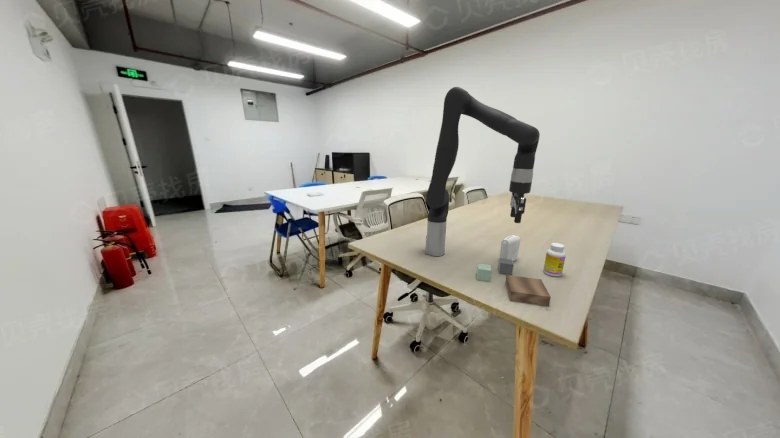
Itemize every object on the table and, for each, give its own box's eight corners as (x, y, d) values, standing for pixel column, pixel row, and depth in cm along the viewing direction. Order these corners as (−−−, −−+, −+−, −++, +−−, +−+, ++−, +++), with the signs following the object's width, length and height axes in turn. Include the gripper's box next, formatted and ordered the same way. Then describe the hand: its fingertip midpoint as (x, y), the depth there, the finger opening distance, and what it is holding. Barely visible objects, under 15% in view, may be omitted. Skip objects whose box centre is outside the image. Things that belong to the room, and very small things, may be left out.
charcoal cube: (499, 273, 105) (500, 263, 104) (497, 268, 110) (499, 258, 108) (511, 275, 104) (513, 264, 102) (510, 269, 108) (511, 259, 107)
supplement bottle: (557, 278, 101) (563, 249, 97) (540, 272, 106) (545, 244, 102) (564, 273, 104) (570, 245, 101) (547, 268, 109) (552, 240, 106)
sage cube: (477, 280, 100) (478, 268, 99) (476, 274, 105) (477, 263, 104) (490, 281, 99) (491, 270, 98) (489, 275, 104) (490, 265, 102)
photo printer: (510, 256, 121) (513, 232, 118) (518, 259, 118) (522, 235, 114) (497, 261, 116) (500, 236, 112) (506, 265, 112) (509, 239, 109)
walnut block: (509, 301, 87) (511, 291, 86) (505, 284, 98) (506, 274, 97) (548, 307, 83) (550, 296, 82) (539, 288, 95) (541, 279, 93)
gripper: (507, 177, 105) (502, 214, 109) (514, 182, 92) (508, 224, 96) (527, 178, 103) (521, 216, 108) (536, 183, 90) (529, 225, 94)
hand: (515, 219), depth 102 cm, fingers open, 8 cm apart
